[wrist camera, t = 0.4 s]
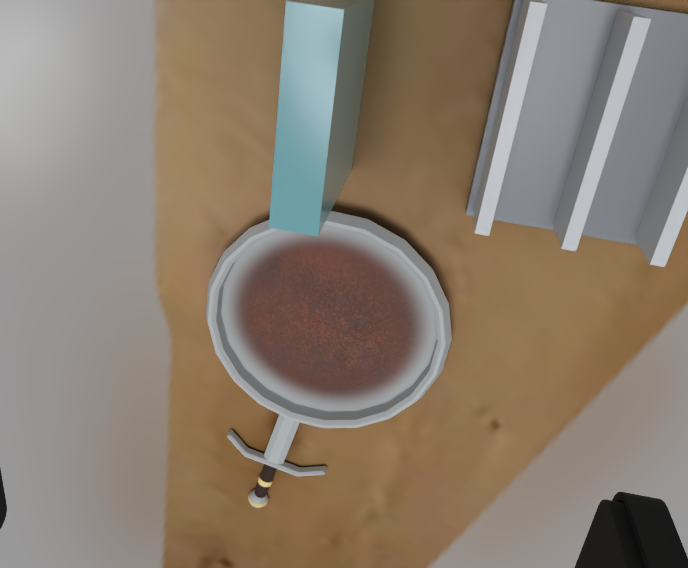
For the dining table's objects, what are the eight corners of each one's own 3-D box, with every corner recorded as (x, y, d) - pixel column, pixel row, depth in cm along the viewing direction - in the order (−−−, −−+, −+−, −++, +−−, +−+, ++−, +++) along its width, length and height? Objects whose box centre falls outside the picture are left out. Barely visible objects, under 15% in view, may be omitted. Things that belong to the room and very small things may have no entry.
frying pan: (153, 480, 53) (233, 175, 39) (167, 455, 55) (248, 160, 41) (348, 554, 53) (496, 276, 39) (353, 526, 56) (494, 256, 42)
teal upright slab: (332, -12, 36) (286, 0, 26) (375, -6, 36) (344, 9, 26) (314, 162, 40) (268, 227, 31) (352, 168, 40) (318, 236, 31)
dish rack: (516, -12, 34) (523, -7, 30) (733, 20, 33) (770, 29, 29) (465, 209, 40) (466, 236, 36) (649, 241, 39) (670, 273, 35)
